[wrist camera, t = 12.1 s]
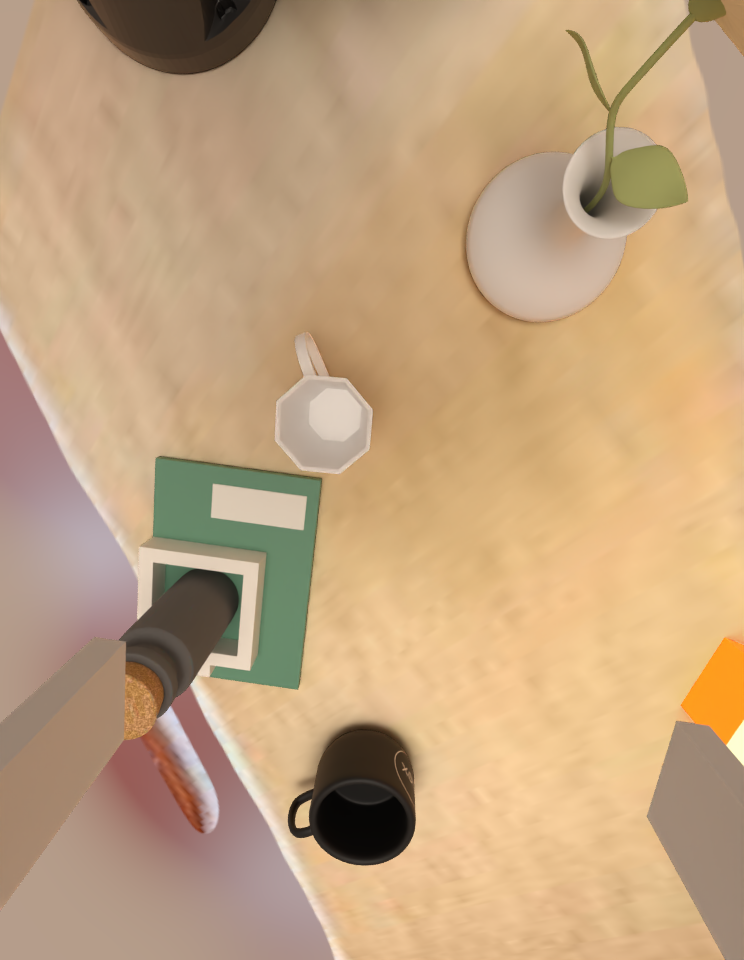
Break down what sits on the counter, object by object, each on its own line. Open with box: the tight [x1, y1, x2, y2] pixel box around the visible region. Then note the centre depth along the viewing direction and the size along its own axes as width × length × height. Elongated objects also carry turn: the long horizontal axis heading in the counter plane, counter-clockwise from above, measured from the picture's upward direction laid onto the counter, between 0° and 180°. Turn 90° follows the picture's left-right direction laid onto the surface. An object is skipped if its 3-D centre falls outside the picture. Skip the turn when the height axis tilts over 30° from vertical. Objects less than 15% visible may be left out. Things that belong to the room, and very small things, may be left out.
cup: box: [275, 332, 373, 474], centre depth 38 cm, size 7×10×8 cm
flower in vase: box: [466, 0, 744, 322], centre depth 26 cm, size 13×11×25 cm
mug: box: [288, 730, 416, 865], centre depth 47 cm, size 12×9×7 cm
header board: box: [137, 456, 322, 690], centre depth 44 cm, size 20×14×3 cm
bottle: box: [119, 568, 239, 740], centre depth 39 cm, size 6×6×15 cm
